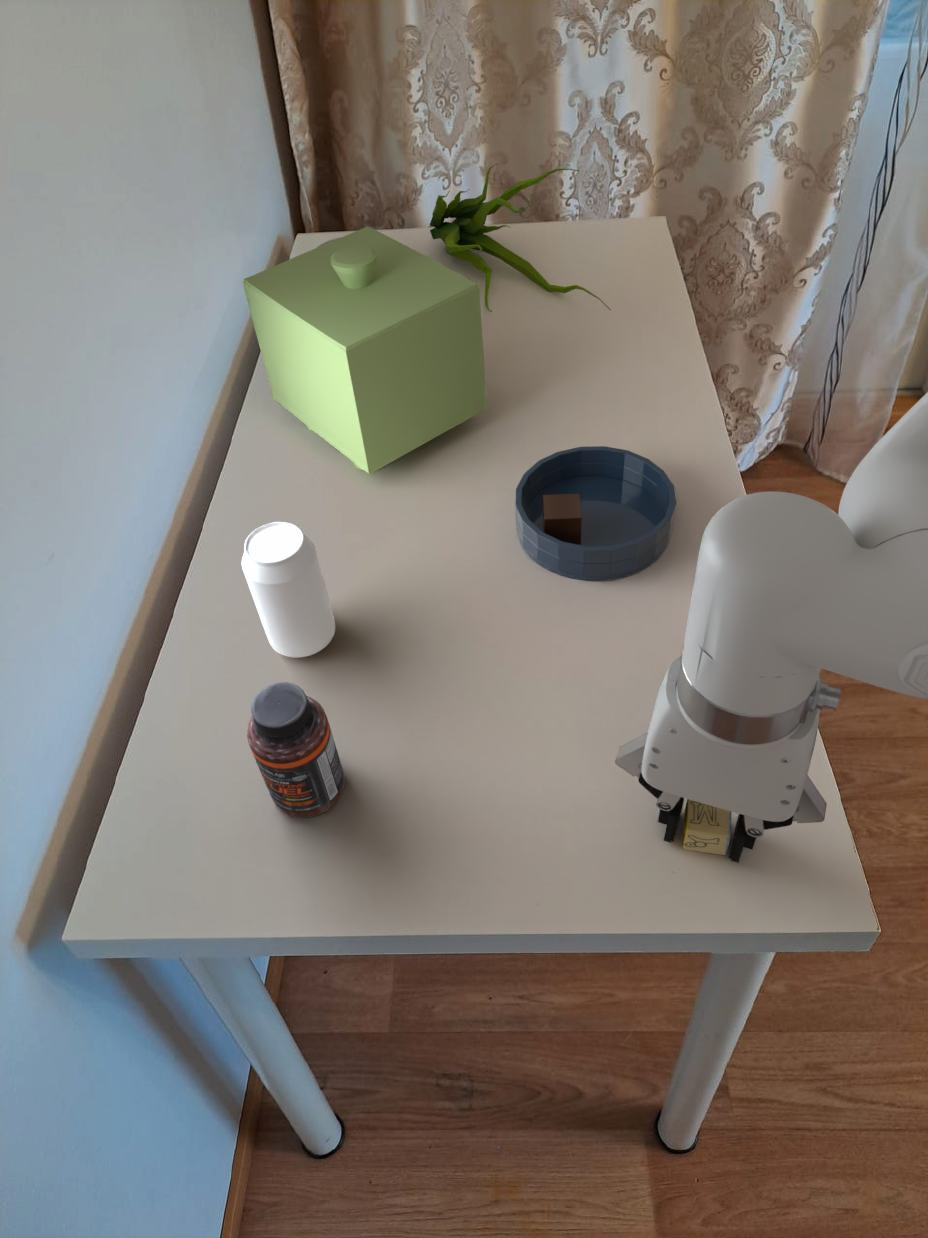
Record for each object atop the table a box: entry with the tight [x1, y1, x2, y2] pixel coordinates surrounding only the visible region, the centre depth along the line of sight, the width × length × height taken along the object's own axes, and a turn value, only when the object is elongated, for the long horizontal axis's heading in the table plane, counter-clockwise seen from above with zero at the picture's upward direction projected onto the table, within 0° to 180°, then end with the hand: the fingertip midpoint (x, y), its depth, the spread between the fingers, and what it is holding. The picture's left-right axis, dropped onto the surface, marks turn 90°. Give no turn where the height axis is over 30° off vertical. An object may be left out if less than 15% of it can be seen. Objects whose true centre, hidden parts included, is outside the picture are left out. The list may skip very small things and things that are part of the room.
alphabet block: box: [682, 799, 733, 856], centre depth 66 cm, size 3×3×3 cm
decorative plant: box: [429, 163, 612, 313], centre depth 118 cm, size 18×30×15 cm, turn 12°
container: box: [242, 226, 488, 475], centre depth 97 cm, size 19×16×20 cm
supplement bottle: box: [246, 681, 345, 818], centre depth 68 cm, size 6×6×11 cm
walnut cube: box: [543, 494, 582, 545], centre depth 87 cm, size 4×4×4 cm
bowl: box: [514, 445, 677, 582], centre depth 88 cm, size 15×15×4 cm
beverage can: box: [241, 521, 336, 658], centre depth 78 cm, size 6×6×12 cm
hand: (704, 833), depth 67 cm, fingers open, 4 cm apart
